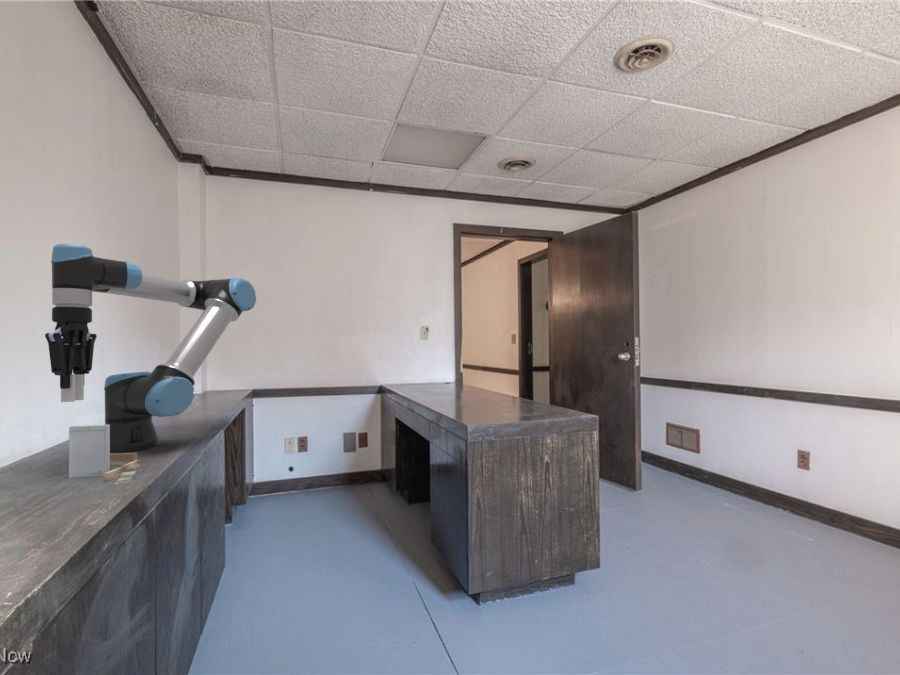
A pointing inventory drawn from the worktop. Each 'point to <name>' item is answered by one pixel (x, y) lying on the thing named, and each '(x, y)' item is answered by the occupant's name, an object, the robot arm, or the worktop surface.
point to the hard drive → (89, 450)
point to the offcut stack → (126, 477)
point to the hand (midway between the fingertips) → (72, 400)
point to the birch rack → (123, 459)
